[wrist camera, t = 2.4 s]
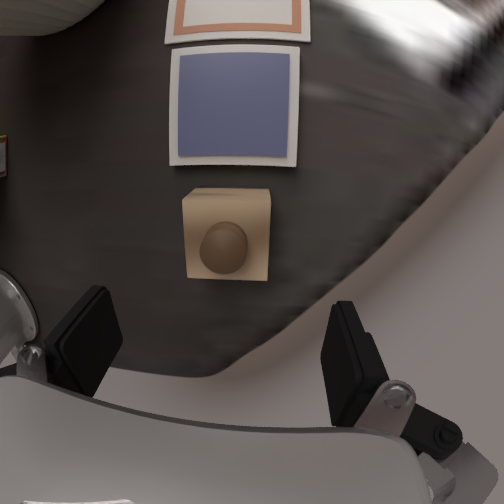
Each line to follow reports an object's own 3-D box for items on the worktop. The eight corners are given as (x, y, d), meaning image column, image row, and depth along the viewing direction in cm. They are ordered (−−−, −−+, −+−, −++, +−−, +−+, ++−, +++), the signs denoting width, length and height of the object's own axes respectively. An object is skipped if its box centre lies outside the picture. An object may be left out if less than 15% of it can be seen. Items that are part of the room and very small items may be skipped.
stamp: (265, 253, 25) (267, 295, 19) (200, 251, 25) (181, 291, 19) (268, 187, 23) (272, 208, 16) (197, 186, 23) (173, 207, 17)
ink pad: (294, 165, 22) (296, 167, 21) (174, 163, 22) (168, 166, 21) (297, 51, 18) (300, 46, 16) (176, 52, 18) (170, 48, 17)
